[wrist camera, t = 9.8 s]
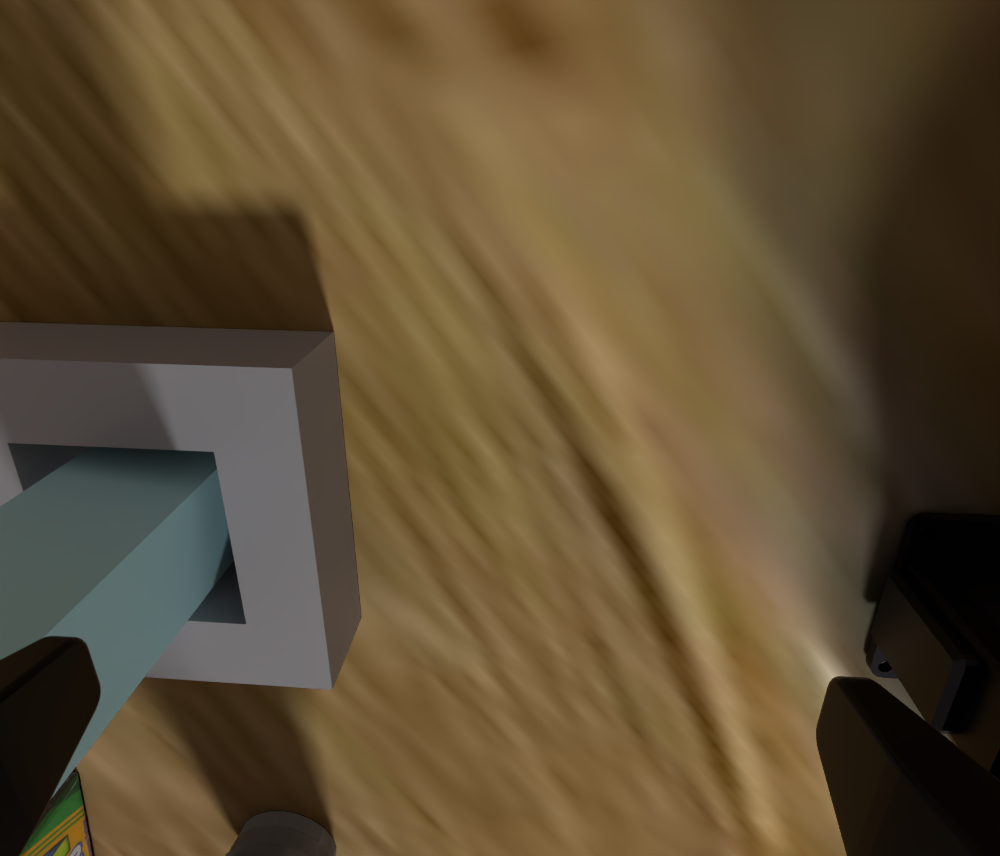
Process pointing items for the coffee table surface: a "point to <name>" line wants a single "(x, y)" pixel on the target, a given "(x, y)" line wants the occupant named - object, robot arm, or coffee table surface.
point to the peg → (112, 561)
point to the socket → (240, 464)
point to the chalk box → (62, 825)
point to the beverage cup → (282, 837)
